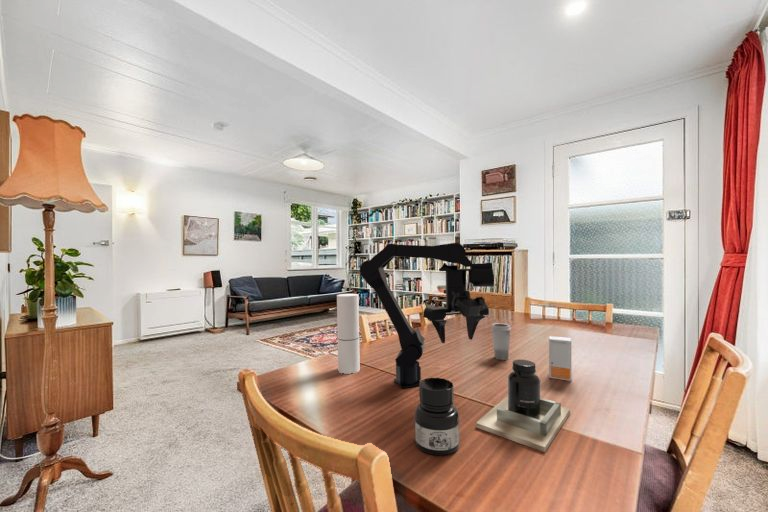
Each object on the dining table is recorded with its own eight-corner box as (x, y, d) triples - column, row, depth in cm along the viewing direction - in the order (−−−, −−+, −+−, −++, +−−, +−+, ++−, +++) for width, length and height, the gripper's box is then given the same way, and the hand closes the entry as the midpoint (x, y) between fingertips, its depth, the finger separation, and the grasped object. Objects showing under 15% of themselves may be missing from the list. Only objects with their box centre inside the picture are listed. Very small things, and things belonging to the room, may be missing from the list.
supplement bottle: (525, 425, 70) (524, 369, 70) (501, 411, 76) (500, 360, 76) (547, 418, 73) (546, 364, 73) (523, 405, 79) (522, 356, 79)
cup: (487, 356, 120) (486, 324, 120) (501, 354, 123) (500, 322, 123) (501, 362, 114) (501, 327, 113) (515, 359, 116) (515, 325, 116)
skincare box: (549, 378, 98) (548, 338, 98) (549, 373, 102) (548, 335, 102) (572, 381, 96) (571, 341, 95) (571, 376, 99) (571, 337, 99)
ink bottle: (411, 454, 62) (410, 391, 62) (414, 430, 71) (413, 374, 71) (463, 458, 61) (462, 394, 61) (460, 433, 69) (459, 376, 69)
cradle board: (476, 427, 71) (475, 411, 71) (510, 396, 86) (510, 383, 86) (544, 452, 62) (544, 434, 62) (570, 413, 77) (569, 398, 77)
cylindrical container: (361, 366, 112) (360, 293, 112) (357, 374, 105) (356, 296, 104) (340, 366, 112) (339, 293, 112) (335, 373, 105) (334, 296, 105)
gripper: (442, 291, 82) (444, 353, 82) (501, 287, 89) (502, 344, 89) (422, 287, 93) (423, 342, 93) (476, 284, 100) (477, 335, 100)
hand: (457, 341), depth 93 cm, fingers open, 9 cm apart
